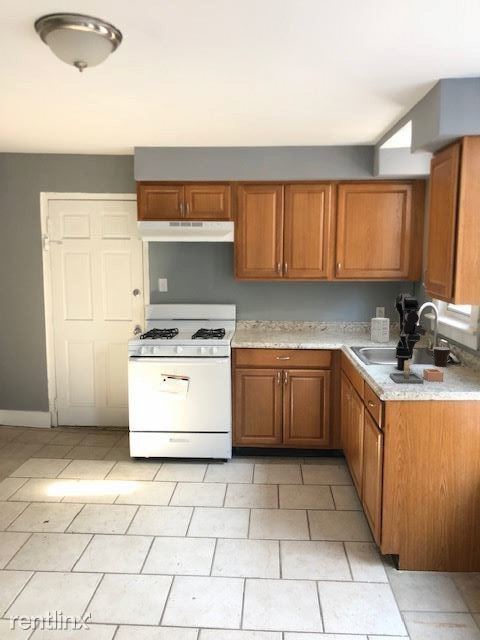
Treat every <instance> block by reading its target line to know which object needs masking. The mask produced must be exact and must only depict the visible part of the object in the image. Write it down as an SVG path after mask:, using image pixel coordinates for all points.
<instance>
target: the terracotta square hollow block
mask: <svg viewBox="0 0 480 640" xmlns="http://www.w3.org/2000/svg"><path fill="white" fill-rule="evenodd" d="M444 373H445V372H443V371H442V370H440V369H439V368H423V373H422V374H423V375H422V379H423V380H426V381H427V382H444Z"/></svg>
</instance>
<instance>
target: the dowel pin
mask: <svg viewBox="0 0 480 640" xmlns="http://www.w3.org/2000/svg"><path fill="white" fill-rule="evenodd" d="M409 369H410V360H408V361H407V360H405V361H404V370H403V373H404V379H409V373H410V370H409Z"/></svg>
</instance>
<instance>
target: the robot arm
mask: <svg viewBox="0 0 480 640" xmlns="http://www.w3.org/2000/svg"><path fill="white" fill-rule="evenodd" d="M393 306H394V309H395V313H396V315H397V316H398V330H397V336H398V338H399V340H398V342H397V345H396V346H395V350H394V358H395V359H397V360H396V361H397V362H396V363H397V364H396V366H395V367H394V368H395V369H396V370H397V371H404V361H405V360H407V361H409V360H412V359H413V354H414V347H415V345H416V344H417V343H418V342H419V341H421V336H420V335H422V336H423V337H425V335H426V333H427V330H428V329H425V328H423V327H422V325H419V324H418V325H417V323H418V321H420V317H419V314H418V313H417V312H419V311H420V309H421V303H420V301H419V299H418V297H417V296H412V295H411V294H410V293H409V292H400V293H399V295H398V296H397V297H396V298H395V300H394V305H393ZM409 371H411V369H410V368H409Z"/></svg>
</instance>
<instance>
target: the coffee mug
mask: <svg viewBox="0 0 480 640" xmlns="http://www.w3.org/2000/svg"><path fill="white" fill-rule="evenodd" d="M432 348H433V349H432V350H433V360H434V361H433V362H434V367H437V368H438V367H439V368H447V366H448V361H449V356H450V348H449V347H445V346H444V347H443V346H435V347H434V346H433V347H432Z"/></svg>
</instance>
